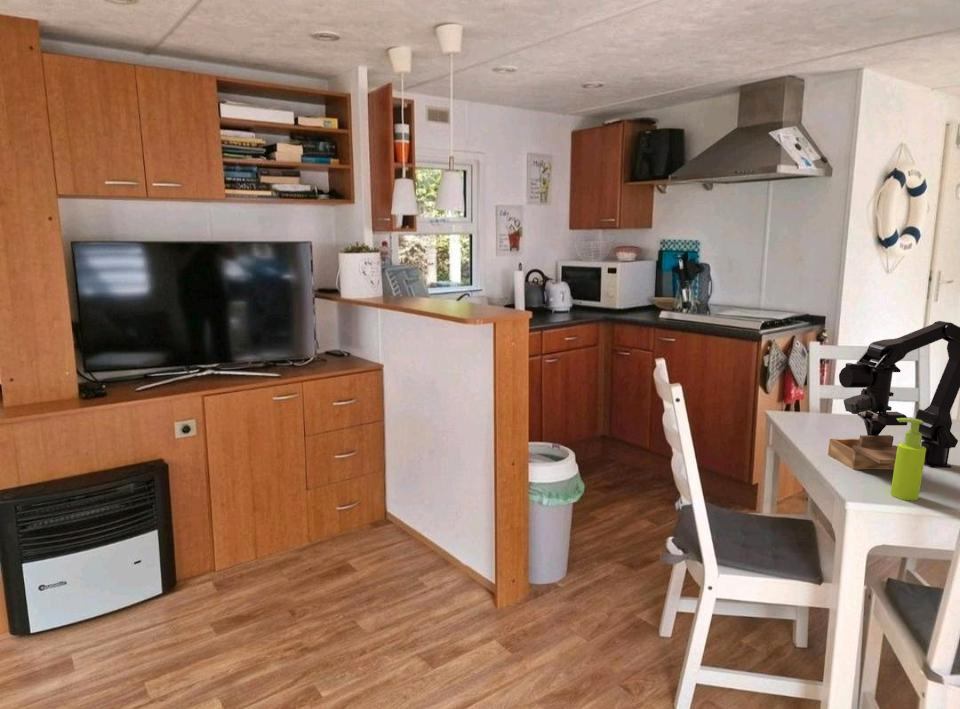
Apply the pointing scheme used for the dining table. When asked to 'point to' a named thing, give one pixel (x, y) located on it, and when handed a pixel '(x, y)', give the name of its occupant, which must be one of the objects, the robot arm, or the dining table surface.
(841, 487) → the dining table surface
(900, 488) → the soap dispenser
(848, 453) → the wooden box
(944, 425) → the robot arm
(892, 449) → the lid
